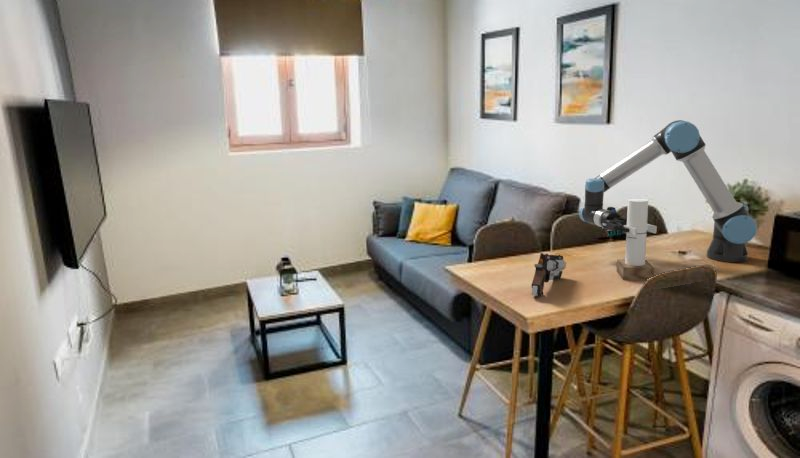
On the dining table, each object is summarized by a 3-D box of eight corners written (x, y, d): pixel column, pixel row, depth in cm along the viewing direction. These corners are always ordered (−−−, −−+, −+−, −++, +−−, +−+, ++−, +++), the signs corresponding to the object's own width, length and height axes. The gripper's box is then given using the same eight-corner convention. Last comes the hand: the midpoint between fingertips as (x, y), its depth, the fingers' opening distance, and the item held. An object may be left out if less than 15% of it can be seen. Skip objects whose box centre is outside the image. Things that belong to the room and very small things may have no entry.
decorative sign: (621, 233, 283) (622, 204, 279) (625, 234, 280) (626, 205, 277) (593, 238, 275) (594, 209, 271) (597, 239, 273) (598, 209, 269)
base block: (645, 271, 220) (646, 259, 219) (653, 280, 209) (654, 267, 208) (616, 271, 222) (617, 259, 221) (622, 279, 211) (623, 267, 210)
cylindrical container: (646, 266, 210) (650, 201, 205) (626, 265, 212) (629, 201, 206) (642, 260, 217) (646, 198, 212) (623, 260, 219) (626, 198, 213)
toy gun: (563, 293, 216) (567, 255, 216) (540, 296, 192) (544, 254, 192) (551, 291, 219) (555, 253, 219) (527, 294, 195) (532, 252, 195)
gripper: (628, 226, 232) (668, 237, 211) (585, 230, 226) (621, 243, 205) (629, 208, 230) (669, 218, 209) (585, 213, 225) (622, 223, 203)
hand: (645, 231), depth 207 cm, fingers open, 8 cm apart
